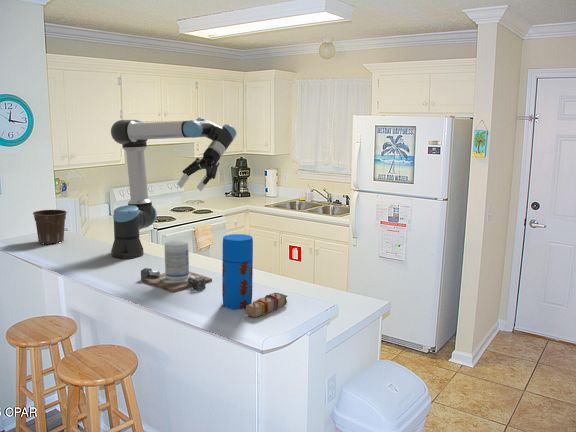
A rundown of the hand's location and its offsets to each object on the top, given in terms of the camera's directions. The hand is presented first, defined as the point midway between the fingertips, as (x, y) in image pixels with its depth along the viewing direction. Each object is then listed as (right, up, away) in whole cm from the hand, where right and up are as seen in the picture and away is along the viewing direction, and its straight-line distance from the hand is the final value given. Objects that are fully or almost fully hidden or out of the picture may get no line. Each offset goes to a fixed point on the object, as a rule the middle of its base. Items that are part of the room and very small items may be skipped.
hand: (188, 187), depth 232 cm
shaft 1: (-12, -39, -17) cm, 44 cm away
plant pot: (-81, -27, +43) cm, 95 cm away
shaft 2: (+8, -41, -26) cm, 49 cm away
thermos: (+26, -45, -43) cm, 68 cm away
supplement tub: (-1, -38, -18) cm, 43 cm away
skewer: (+38, -46, -47) cm, 76 cm away
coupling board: (-1, -40, -19) cm, 44 cm away
